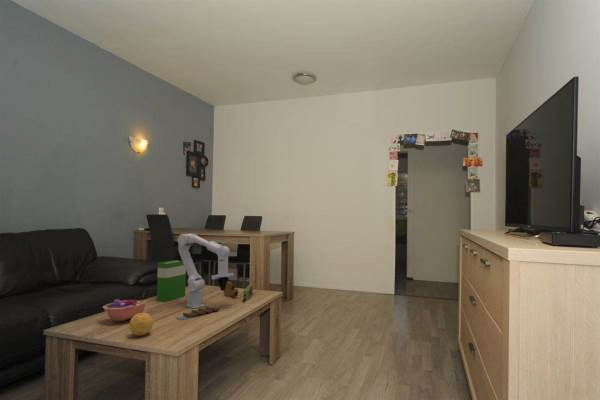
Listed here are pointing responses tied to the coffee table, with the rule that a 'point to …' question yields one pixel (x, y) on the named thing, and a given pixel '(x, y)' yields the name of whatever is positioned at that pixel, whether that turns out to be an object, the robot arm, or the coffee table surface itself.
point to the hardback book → (171, 280)
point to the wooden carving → (230, 290)
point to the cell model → (124, 309)
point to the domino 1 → (183, 317)
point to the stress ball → (141, 324)
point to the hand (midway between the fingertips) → (222, 290)
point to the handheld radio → (247, 292)
